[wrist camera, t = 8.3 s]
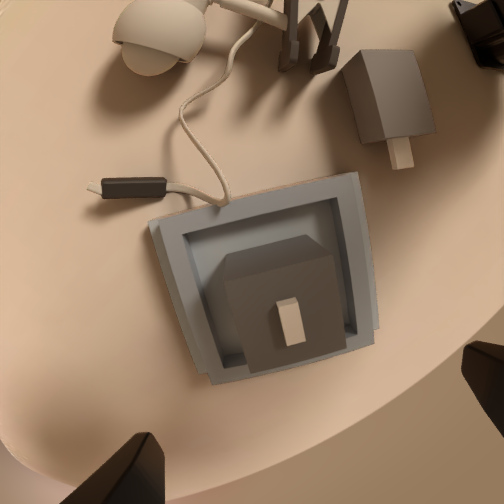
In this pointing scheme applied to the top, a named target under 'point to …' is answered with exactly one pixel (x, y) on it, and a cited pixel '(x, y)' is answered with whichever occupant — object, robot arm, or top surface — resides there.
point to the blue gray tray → (255, 234)
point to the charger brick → (284, 302)
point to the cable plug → (389, 101)
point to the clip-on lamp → (187, 47)
